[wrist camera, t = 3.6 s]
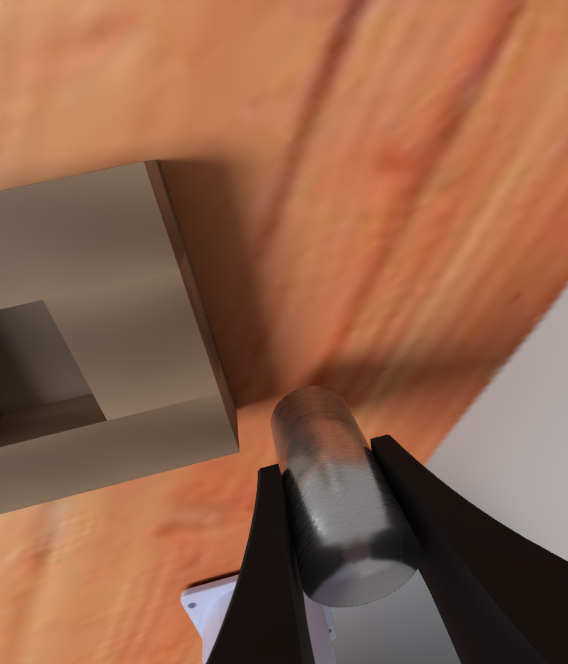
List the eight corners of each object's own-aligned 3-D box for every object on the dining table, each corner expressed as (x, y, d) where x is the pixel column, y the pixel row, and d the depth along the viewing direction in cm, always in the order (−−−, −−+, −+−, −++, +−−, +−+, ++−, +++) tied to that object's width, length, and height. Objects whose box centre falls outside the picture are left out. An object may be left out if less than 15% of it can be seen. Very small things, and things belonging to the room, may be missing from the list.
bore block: (236, 410, 16) (239, 452, 14) (-48, 481, 15) (-94, 538, 13) (158, 160, 11) (143, 161, 9) (-256, 245, 10) (-384, 269, 8)
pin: (352, 438, 15) (422, 587, 10) (278, 457, 15) (311, 619, 10) (344, 377, 14) (421, 513, 9) (263, 397, 14) (291, 549, 8)
